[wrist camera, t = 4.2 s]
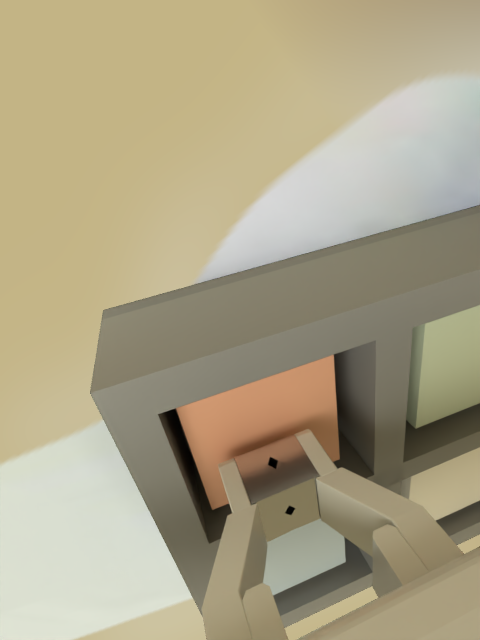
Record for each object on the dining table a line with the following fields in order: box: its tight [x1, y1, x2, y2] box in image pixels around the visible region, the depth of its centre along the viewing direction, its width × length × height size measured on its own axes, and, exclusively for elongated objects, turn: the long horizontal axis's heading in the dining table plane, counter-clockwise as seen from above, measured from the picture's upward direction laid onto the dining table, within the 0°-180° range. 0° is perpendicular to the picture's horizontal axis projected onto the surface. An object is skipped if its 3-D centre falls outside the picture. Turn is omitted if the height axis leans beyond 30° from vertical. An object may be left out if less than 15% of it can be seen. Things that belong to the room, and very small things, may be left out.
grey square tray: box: [90, 205, 480, 628], centre depth 15 cm, size 16×15×5 cm
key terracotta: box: [176, 355, 340, 510], centre depth 12 cm, size 5×5×2 cm
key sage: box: [406, 305, 480, 429], centre depth 13 cm, size 5×5×2 cm
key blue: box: [263, 519, 346, 595], centre depth 15 cm, size 5×5×2 cm
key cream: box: [401, 447, 480, 521], centre depth 16 cm, size 5×5×2 cm
